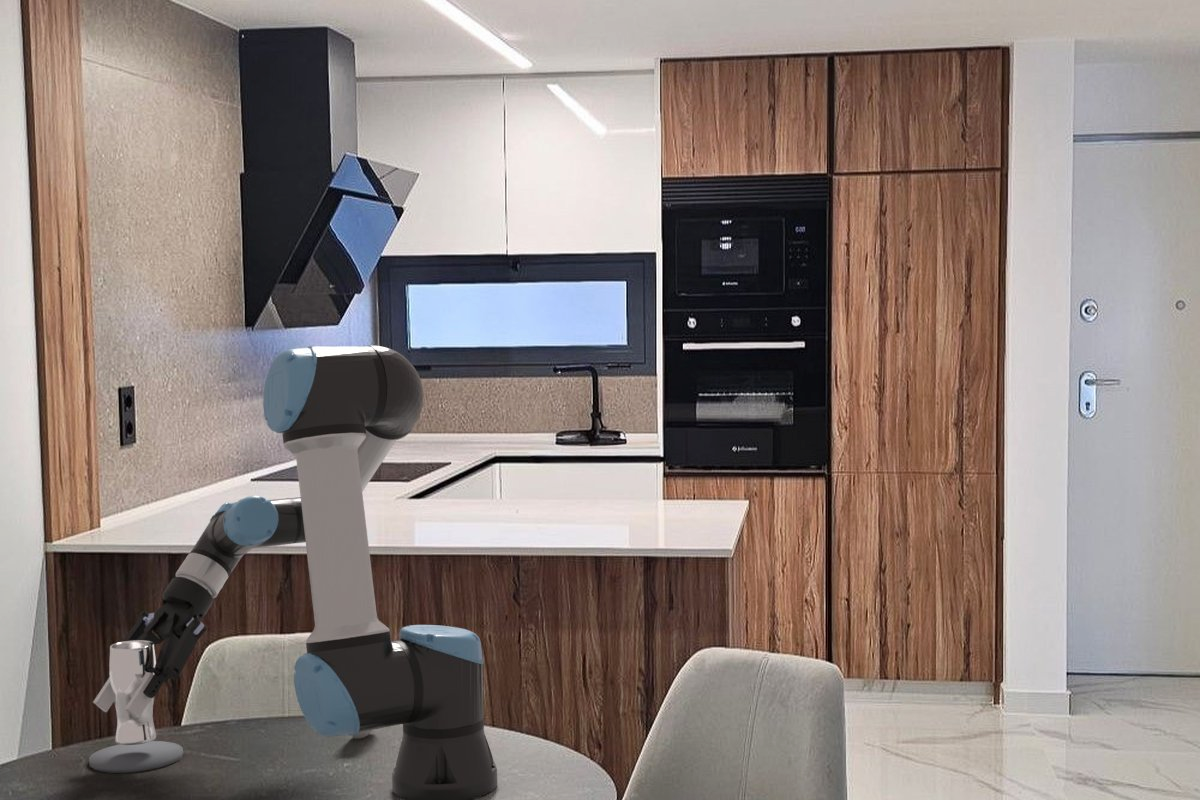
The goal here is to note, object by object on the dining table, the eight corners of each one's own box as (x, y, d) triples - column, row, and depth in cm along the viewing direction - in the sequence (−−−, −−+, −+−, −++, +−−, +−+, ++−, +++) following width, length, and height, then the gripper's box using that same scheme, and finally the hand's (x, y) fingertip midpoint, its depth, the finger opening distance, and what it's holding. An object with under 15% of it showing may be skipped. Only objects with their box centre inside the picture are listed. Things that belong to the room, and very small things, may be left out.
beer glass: (145, 746, 224) (141, 650, 223) (103, 745, 225) (99, 649, 224) (167, 733, 231) (163, 640, 230) (126, 732, 232) (122, 639, 231)
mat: (200, 757, 228) (200, 752, 228) (117, 778, 218) (117, 773, 218) (154, 740, 238) (153, 736, 238) (72, 760, 228) (72, 755, 228)
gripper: (249, 607, 234) (173, 732, 222) (167, 596, 245) (89, 714, 233) (223, 579, 230) (143, 705, 217) (140, 569, 241) (59, 689, 228)
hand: (115, 710), depth 225 cm, fingers closed on beer glass, 7 cm apart
